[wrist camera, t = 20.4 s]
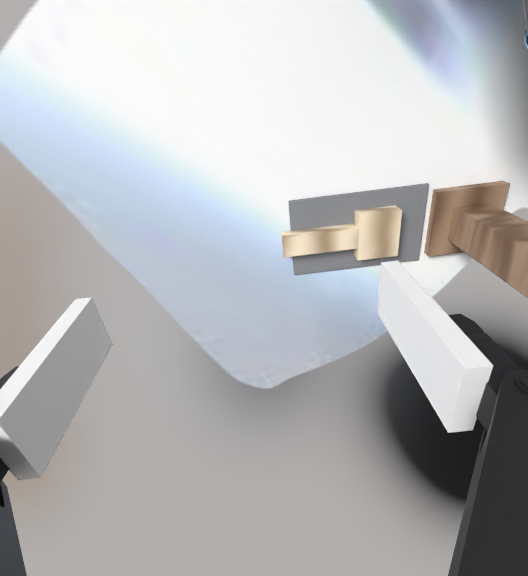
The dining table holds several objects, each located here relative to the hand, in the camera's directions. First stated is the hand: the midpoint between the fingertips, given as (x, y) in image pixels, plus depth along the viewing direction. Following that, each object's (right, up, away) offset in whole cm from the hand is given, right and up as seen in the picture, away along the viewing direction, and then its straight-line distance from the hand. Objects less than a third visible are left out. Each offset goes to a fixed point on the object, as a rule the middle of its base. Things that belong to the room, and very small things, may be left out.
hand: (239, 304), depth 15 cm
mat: (+15, +9, +35) cm, 40 cm away
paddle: (+12, +9, +35) cm, 38 cm away
